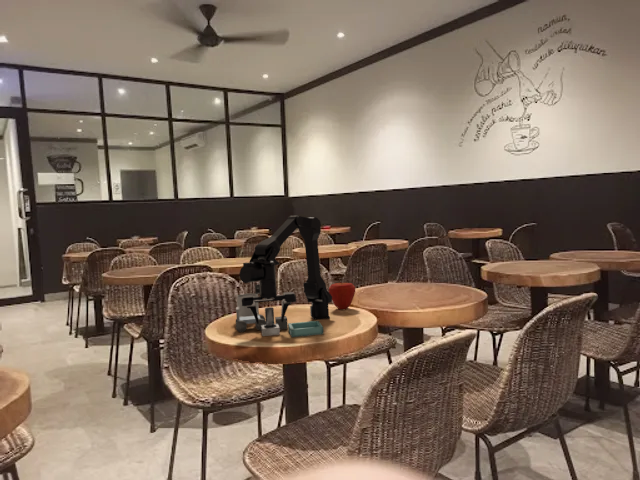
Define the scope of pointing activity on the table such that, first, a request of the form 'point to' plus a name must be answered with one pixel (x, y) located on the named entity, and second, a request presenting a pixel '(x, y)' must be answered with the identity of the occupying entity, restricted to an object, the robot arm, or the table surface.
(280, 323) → the dark grey cube
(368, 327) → the table surface
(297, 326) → the tray
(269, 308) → the pin
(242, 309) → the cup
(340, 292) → the apple
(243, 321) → the trolley
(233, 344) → the table surface
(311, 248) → the robot arm
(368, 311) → the table surface
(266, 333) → the socket
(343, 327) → the table surface
